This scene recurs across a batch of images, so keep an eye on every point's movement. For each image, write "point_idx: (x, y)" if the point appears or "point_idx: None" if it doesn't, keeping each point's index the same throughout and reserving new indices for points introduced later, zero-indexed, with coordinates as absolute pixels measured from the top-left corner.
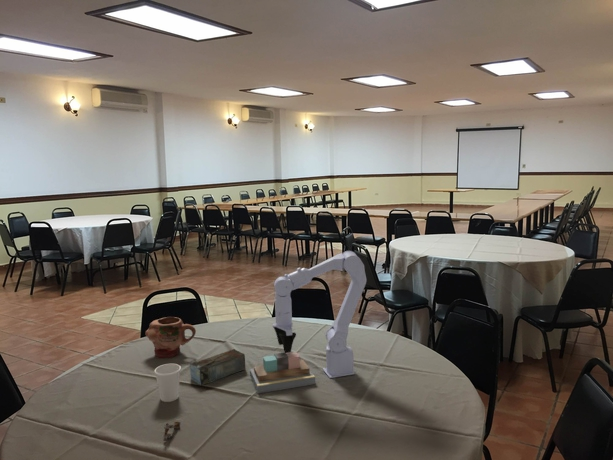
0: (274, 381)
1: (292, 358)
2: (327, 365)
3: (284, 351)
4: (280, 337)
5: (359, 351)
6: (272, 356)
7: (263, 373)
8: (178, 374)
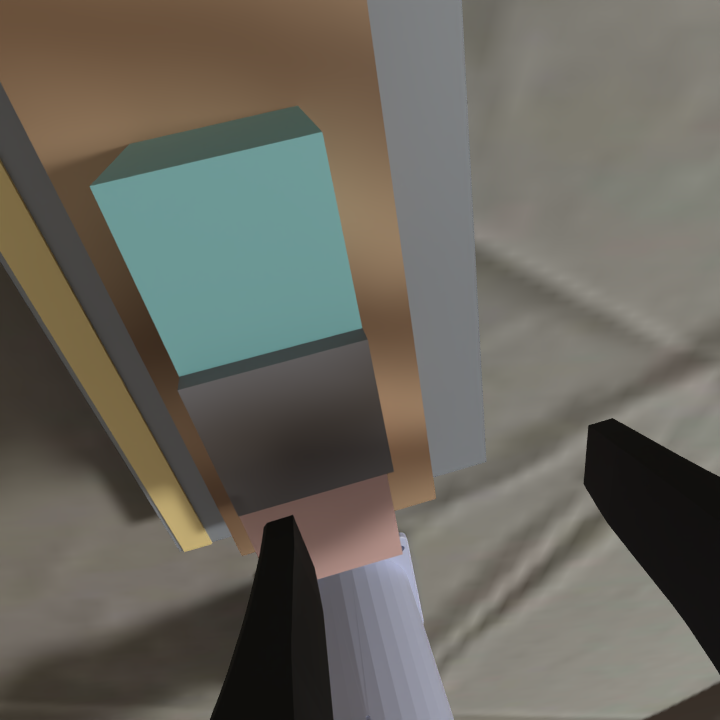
0: (38, 240)
1: (249, 530)
2: (336, 612)
3: (280, 529)
4: (675, 533)
5: (566, 641)
6: (317, 304)
7: (87, 104)
8: None
